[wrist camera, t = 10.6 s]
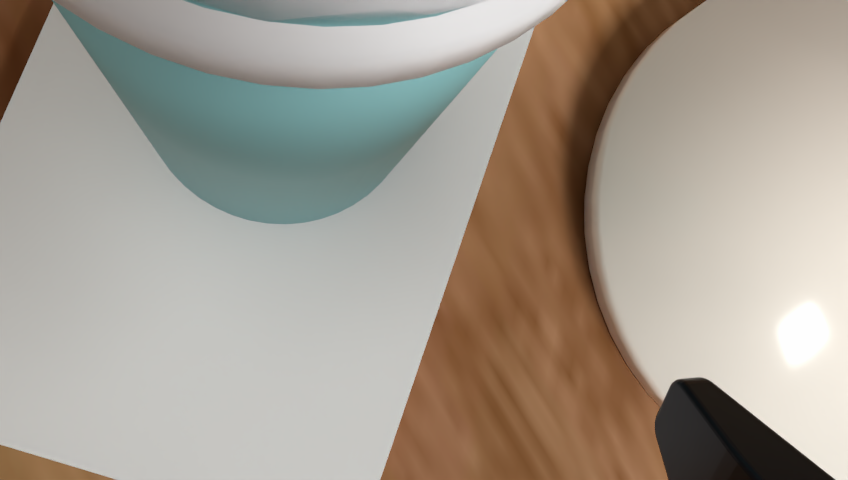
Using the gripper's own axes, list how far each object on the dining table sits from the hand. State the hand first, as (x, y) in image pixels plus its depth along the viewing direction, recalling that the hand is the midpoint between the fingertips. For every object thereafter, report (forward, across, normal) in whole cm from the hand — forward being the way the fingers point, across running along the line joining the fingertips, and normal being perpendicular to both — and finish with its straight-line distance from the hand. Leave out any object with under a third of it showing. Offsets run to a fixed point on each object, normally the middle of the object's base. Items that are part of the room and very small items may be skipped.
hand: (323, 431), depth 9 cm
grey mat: (+9, +1, +3) cm, 9 cm away
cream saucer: (+8, -14, +4) cm, 16 cm away
